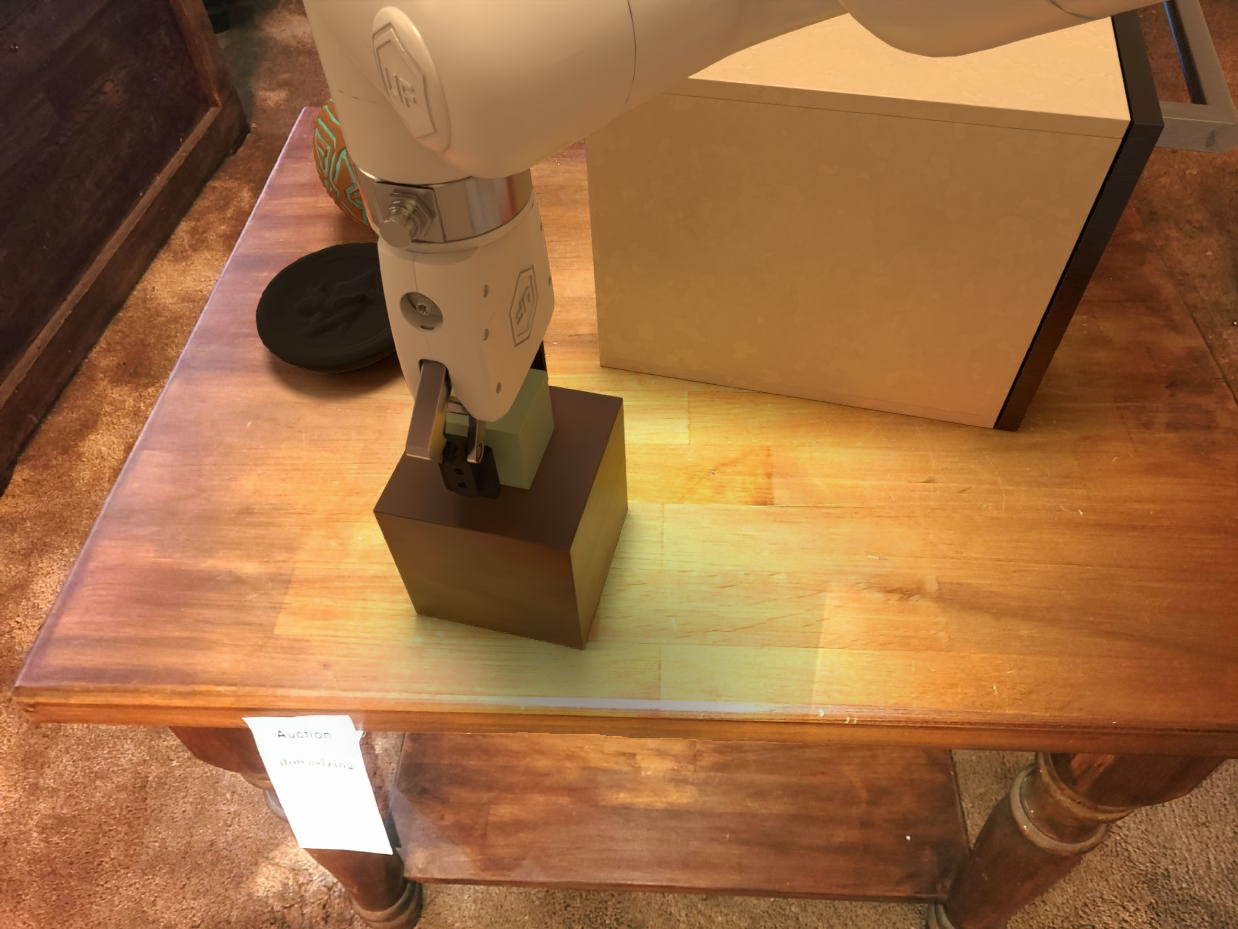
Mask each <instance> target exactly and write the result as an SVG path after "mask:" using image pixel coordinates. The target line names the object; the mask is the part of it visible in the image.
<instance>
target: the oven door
mask: <svg viewBox="0 0 1238 929" xmlns="http://www.w3.org/2000/svg"><path fill="white" fill-rule="evenodd" d="M1162 3H1163V6H1164V10H1165V13H1166V17H1167V21H1168V25H1169V28H1170V31H1171V35H1172V39H1173V42H1174V45H1175V46H1174V47H1175V50H1176V53H1177V56H1178V60H1179V63H1180V67H1181V71H1182V75H1183V78H1184V81H1185V85H1186V88H1187V92H1188V96H1189V99H1190V102H1191V103H1189V102H1187V103H1186V102H1177V101H1166V100H1159V95H1158V92H1157V87H1156V83H1155V78H1154V75H1153V70H1152V66H1151V61H1150V57H1149V54H1148V49H1147V44H1146V41H1145V40H1146V39H1145V37H1144V32H1143V28H1142V23H1141V20H1140V16H1139V12H1138V8H1137V9H1133V10H1129V11H1125V12H1121V13H1118V14H1115V15H1112V16H1111V21H1112V27H1113V32H1114V37H1115V42H1116V47H1117V52H1118V57H1119V63H1120V68H1121V73H1122V78H1123V83H1124V88H1125V94H1126V99H1127V104H1128V109H1129V114H1130V119H1131V121H1130V123H1129V125H1128V127H1127V129H1126V132H1125V134H1124V136H1123V138H1122V141H1121V143H1120V146H1119V148H1118V150H1117V152H1116V154H1115V157H1114V159H1113V161H1112V163H1111V166H1110V168H1109V170H1108V172H1107V174H1106V177H1105V179H1104V181H1103V183H1102V186H1101V188H1100V190H1099V192H1098V194H1097V197H1096V199H1095V201H1094V203H1093V206H1092V208H1091V210H1090V212H1089V214H1088V217H1087V219H1086V221H1085V223H1084V226H1083V228H1082V230H1081V232H1080V234H1079V237H1078V239H1077V241H1076V243H1075V246H1074V248H1073V250H1072V252H1071V255H1070V257H1069V259H1068V261H1067V263H1066V266H1065V268H1064V270H1063V272H1062V275H1061V277H1060V279H1059V281H1058V283H1057V286H1056V288H1055V290H1054V292H1053V295H1052V297H1051V299H1050V301H1049V303H1048V306H1047V308H1046V310H1045V312H1044V315H1043V317H1042V319H1041V321H1040V323H1039V326H1038V328H1037V330H1036V332H1035V335H1034V337H1033V339H1032V341H1031V343H1030V346H1029V348H1028V350H1027V352H1026V355H1025V357H1024V359H1023V361H1022V363H1021V366H1020V368H1019V370H1018V372H1017V375H1016V377H1015V379H1014V381H1013V384H1012V386H1011V388H1010V390H1009V392H1008V395H1007V397H1006V399H1005V401H1004V404H1003V406H1002V408H1001V410H1000V412H999V415H998V417H997V419H996V421H995V423H996V424H995V425H996V429H1000V430H1007V431H1014V432H1018V431H1019V429H1020V427H1021V425H1022V424H1023V421H1024V419H1025V417H1026V415H1027V412H1028V410H1029V408H1030V407H1031V404H1032V403H1033V400H1034V398H1035V396H1036V394H1037V392H1038V390H1039V388H1040V387H1041V386H1040V385H1041V383H1042V382H1043V379H1044V377H1045V375H1046V373H1047V371H1048V369H1049V367H1050V365H1051V364H1052V363H1051V362H1052V360H1053V358H1054V356H1055V354H1056V352H1057V351H1058V348H1059V347H1060V345H1061V342H1062V340H1063V337H1064V336H1065V333H1066V332H1067V329H1068V327H1069V325H1070V323H1071V321H1072V319H1073V317H1074V316H1075V313H1076V311H1077V309H1078V307H1079V305H1080V303H1081V300H1082V299H1083V296H1084V294H1085V292H1086V290H1087V288H1088V286H1089V284H1090V282H1091V280H1092V278H1093V275H1094V274H1095V271H1096V269H1097V268H1098V266H1099V264H1100V261H1101V259H1102V257H1103V255H1104V253H1105V251H1106V249H1107V247H1108V244H1109V243H1110V240H1111V238H1112V237H1113V234H1114V232H1115V231H1116V228H1117V226H1118V224H1119V222H1120V220H1121V218H1122V216H1123V213H1124V211H1125V209H1126V208H1127V205H1128V203H1129V201H1130V199H1131V197H1132V195H1133V192H1134V191H1135V189H1136V187H1137V185H1138V182H1139V180H1140V178H1141V176H1142V174H1143V172H1144V170H1145V168H1146V166H1147V164H1148V162H1149V159H1150V158H1151V155H1152V153H1153V151H1154V149H1155V148H1158V149H1159V148H1160V149H1167V150H1179V151H1180V150H1181V151H1188V152H1200V153H1210V154H1223V153H1226V152H1228V151H1230V150H1232V149H1234V148H1235V147H1237V145H1238V113H1237V110H1236V107H1235V104H1234V101H1233V98H1232V95H1231V92H1230V89H1229V86H1228V84H1227V80H1226V76H1225V74H1224V71H1223V69H1222V66H1221V62H1220V59H1219V57H1218V53H1217V51H1216V48H1215V45H1214V42H1213V38H1212V36H1211V33H1210V30H1209V27H1208V24H1207V21H1206V18H1205V15H1204V12H1203V9H1202V7H1201V3H1200V0H1168V1H1164V2H1162Z"/></svg>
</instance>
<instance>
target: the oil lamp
mask: <svg viewBox="0 0 1238 929" xmlns="http://www.w3.org/2000/svg"><path fill="white" fill-rule="evenodd" d="M377 243H378V242H372V241H371V242H370V241H368V242H367V241H366V242H365V241H364V242H362V241H361V242H359V241H358V242H346V243H340V244H339V243H338V244H333V245H331V246H327V247H324V248H321V249H320V250H319V249H318V250H317V251H313V252H310V253H307V254H306V255H304V256H301V257H299V258H297V259H296V260H295V261H293V262H292V263H289V264H288V265H286V266H285V267H284V268H283V269H281V270H280V271H279V272H278V273H277V274H276V275H275V276H273V278H272V279H271V280H270V281H269V283H268V284H267V286H265V288H264V290H263V291H262V292H261V297H260V298H259V300H258V303H257V306H256V309H255V324H256V330H257V334H258V337H259V338H260V341H261V343H262V344H263V346H264V347H265V348H266V349H267V350H269V352H271V353H272V354H273V355H274V356H275V357H276V358H278V359H279V360H280V361H281V362H284V363H286V364H289V365H291V366H294V367H297V368H299V369H304V370H307V371H310V372H314V373H323V374H337V373H338V374H339V373H345V372H350V371H354V370H359V369H362V368H364V367H368V366H370V365H373V364H375V363H377V362H379V361H380V360H381V361H382V360H383V359H385V358H386V357H388V356H389V355H392V354H393V353H394V352H397V351H396V346H395V342H394V338H393V334H392V330H391V325H390V321H389V316H388V311H387V306H386V300H385V295H384V289H383V283H382V276H381V270H380V261H379V253H378V245H377Z"/></svg>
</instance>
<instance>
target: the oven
mask: <svg viewBox="0 0 1238 929" xmlns="http://www.w3.org/2000/svg"><path fill="white" fill-rule="evenodd" d="M1130 121H1131V119H1130V114H1129V109H1128V104H1127V99H1126V94H1125V88H1124V83H1123V78H1122V73H1121V68H1120V63H1119V57H1118V52H1117V47H1116V42H1115V37H1114V32H1113V27H1112V21H1111V16H1110V17H1107V18H1104V19H1100V20H1096V21H1092V22H1089V23H1085V24H1081V25H1077V26H1073V27H1070V28H1066V29H1062V30H1058V31H1054V32H1050V33H1047V34H1043V35H1039V36H1035V37H1031V38H1027V39H1024V40H1020V41H1017V42H1013V43H1010V44H1006V45H1003V46H999V47H996V48H992V49H988V50H984V51H979V52H975V53H970V54H966V55H961V56H957V57H927V56H921V55H916V54H912V53H908V52H904V51H902V50H899V49H896V48H894V47H892V46H890V45H888V44H887V43H885V42H883V41H882V40H880V39H879V38H877V37H876V36H875V35H873V34H872V33H871V32H870V31H868V30H867V29H866V28H865V27H863V26H862V25H861V24H860V23H858V22H857V21H856V20H855V19H854V18H853V17H852V16H851V15H850V14H849V13H847V14H844V15H840V16H837V17H834V18H831V19H828V20H825V21H822V22H819V23H816V24H813V25H810V26H807V27H804V28H801V29H798V30H795V31H792V32H790V33H787V34H784V35H781V36H778V37H775V38H772V39H770V40H767V41H764V42H761V43H759V44H756V45H754V46H751V47H749V48H746V49H744V50H741V51H739V52H737V53H734V54H732V55H730V56H728V57H726V58H724V59H722V60H720V61H718V62H716V63H714V64H712V65H710V66H709V67H707V68H705V69H703V70H701V71H699V72H697V73H695V74H693V75H692V76H690V77H688V78H686V79H684V80H682V81H681V82H679V83H677V84H675V85H673V86H672V87H670V88H668V89H666V90H664V91H663V92H661V93H659V94H657V95H656V96H654V97H652V98H650V99H648V100H647V101H645V102H643V103H641V104H639V105H638V106H636V107H634V108H632V109H630V110H629V111H627V112H625V113H623V114H621V115H619V116H618V117H616V118H615V119H613V120H612V121H611V122H610V123H609V124H607V125H606V126H604V127H602V128H601V129H599V130H597V131H595V132H594V133H592V134H590V135H588V136H586V137H585V138H584V148H585V164H586V165H585V166H586V179H587V192H588V205H589V209H588V210H589V220H590V236H591V237H590V238H591V250H592V262H593V263H592V266H593V267H592V268H593V279H594V294H595V308H596V310H595V311H596V322H597V334H598V336H597V337H598V351H599V353H598V354H599V364H600V367H603V368H604V367H605V368H612V369H616V370H623V371H629V372H630V371H631V372H637V373H642V374H648V375H649V374H650V375H653V376H654V375H655V376H661V377H666V378H667V377H668V378H674V379H680V380H686V381H693V382H699V383H705V384H713V385H717V386H723V387H730V388H734V389H741V390H742V389H743V390H749V391H755V392H761V393H768V394H773V395H780V396H785V397H786V396H787V397H791V398H792V397H793V398H798V399H803V400H804V399H805V400H809V401H810V400H812V401H818V402H823V403H831V404H835V405H841V406H847V407H848V406H849V407H855V408H861V409H866V410H874V411H880V412H887V413H892V414H899V415H904V416H911V417H917V418H924V419H929V420H935V421H941V422H948V423H955V424H959V425H966V426H967V425H968V426H972V427H979V428H984V429H985V428H986V429H993V428H994V426H995V425H996V424H995V423H996V419H997V417H998V415H999V412H1000V410H1001V408H1002V406H1003V404H1004V401H1005V399H1006V397H1007V395H1008V392H1009V390H1010V388H1011V386H1012V384H1013V381H1014V379H1015V377H1016V375H1017V372H1018V370H1019V368H1020V366H1021V363H1022V361H1023V359H1024V357H1025V355H1026V352H1027V350H1028V348H1029V346H1030V343H1031V341H1032V339H1033V337H1034V335H1035V332H1036V330H1037V328H1038V326H1039V323H1040V321H1041V319H1042V317H1043V315H1044V312H1045V310H1046V308H1047V306H1048V303H1049V301H1050V299H1051V297H1052V295H1053V292H1054V290H1055V288H1056V286H1057V283H1058V281H1059V279H1060V277H1061V275H1062V272H1063V270H1064V268H1065V266H1066V263H1067V261H1068V259H1069V257H1070V255H1071V252H1072V250H1073V248H1074V246H1075V243H1076V241H1077V239H1078V237H1079V234H1080V232H1081V230H1082V228H1083V226H1084V223H1085V221H1086V219H1087V217H1088V214H1089V212H1090V210H1091V208H1092V206H1093V203H1094V201H1095V199H1096V197H1097V194H1098V192H1099V190H1100V188H1101V186H1102V183H1103V181H1104V179H1105V177H1106V174H1107V172H1108V170H1109V168H1110V166H1111V163H1112V161H1113V159H1114V157H1115V154H1116V152H1117V150H1118V148H1119V146H1120V143H1121V141H1122V138H1123V136H1124V134H1125V132H1126V129H1127V127H1128V125H1129V123H1130Z"/></svg>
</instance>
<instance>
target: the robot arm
mask: <svg viewBox="0 0 1238 929" xmlns="http://www.w3.org/2000/svg"><path fill="white" fill-rule="evenodd" d="M301 1H302V5H303V7H304V11H305V14H306V17H307V21H308V24H309V27H310V28H309V29H310V31H311V35H312V37H313V41H314V44H315V48H316V50H317V54H318V57H319V62H320V63H321V67H322V71H323V74H324V78H325V80H326V84H327V88H328V90H329V93H330V94H331V97H332V101H333V104H334V107H335V111H336V114H337V117H338V121H339V124H340V127H341V131H342V134H343V137H344V140H345V144H346V147H347V150H348V153H349V157H350V160H351V164H352V167H353V170H354V174H355V177H356V180H357V184H358V187H359V190H360V194H361V197H362V200H363V204H364V207H365V210H366V214H367V217H368V220H369V223H370V225H371V227H372V229H373V230H372V231H374V232H375V233H376V235H377V236H378V240H377V242H376V243H377V245H378V253H379V261H380V270H381V276H382V283H383V289H384V295H385V300H386V306H387V311H388V316H389V321H390V325H391V330H392V334H393V338H394V342H395V346H396V351H395V352H396V355H397V359H398V361H399V364H400V368H401V371H402V375H403V378H404V382H405V383H406V385H407V388H408V391H409V393H410V395H411V397H412V399H413V401H414V403H413V408H412V413H411V417H410V422H409V426H408V431H407V435H406V441H405V448H404V451H405V452H406V455H407V456H410V457H413V458H417V459H421V460H425V461H429V462H435V463H438V465H439V468H440V471H441V475H442V478H443V481H444V484H445V487H446V488H447V489H448V490H450V491H453V492H455V493H457V494H459V495H462V496H466V497H476V496H479V497H484V498H489V499H498V497H499V495H500V493H501V485H500V481H499V476H498V472H497V467H496V463H495V459H494V454H493V450H492V448H491V447H490V446H487V445H485V430H486V421H489V422H496V421H497V420H499V419H500V418H502V417H503V416H504V415H505V414H506V413H507V412H508V411H509V409H510V408H511V406H512V404H513V402H514V401H515V398H516V396H517V394H518V392H519V390H520V388H521V386H522V384H523V382H524V379H525V377H526V375H527V373H528V371H529V369H537V370H543V371H546V372H547V378H548V379H549V374H548V366H547V360H546V351H545V344H544V337H545V335H546V333H547V330H548V328H549V326H550V323H551V320H552V317H553V313H554V309H555V292H554V285H553V277H552V271H551V266H550V260H549V255H548V249H547V248H548V247H547V243H546V237H545V232H544V228H543V227H544V226H543V222H542V217H541V212H540V208H539V205H538V201H537V196H536V193H535V190H534V186H533V180H532V172H531V168H534V167H536V166H537V165H540V164H541V163H543V162H545V161H546V160H548V159H549V158H551V157H553V156H555V155H557V154H558V153H560V152H562V151H564V150H566V149H568V148H569V147H571V146H573V145H574V144H576V143H578V142H579V141H581V140H584V139H585V137H586V136H588V135H590V134H592V133H594V132H595V131H597V130H599V129H601V128H602V127H604V126H606V125H607V124H609V123H610V122H611V121H612V120H613V119H615V118H616V117H618V116H619V115H621V114H623V113H625V112H627V111H629V110H630V109H632V108H634V107H636V106H638V105H639V104H641V103H643V102H645V101H647V100H648V99H650V98H652V97H654V96H656V95H657V94H659V93H661V92H663V91H664V90H666V89H668V88H670V87H672V86H673V85H675V84H677V83H679V82H681V81H682V80H684V79H686V78H688V77H690V76H692V75H693V74H695V73H697V72H699V71H701V70H703V69H705V68H707V67H709V66H710V65H712V64H714V63H716V62H718V61H720V60H722V59H724V58H726V57H728V56H730V55H732V54H734V53H737V52H739V51H741V50H744V49H746V48H749V47H751V46H754V45H756V44H759V43H761V42H764V41H767V40H770V39H772V38H775V37H778V36H781V35H784V34H787V33H790V32H792V31H795V30H798V29H801V28H804V27H807V26H810V25H813V24H816V23H819V22H822V21H825V20H828V19H831V18H834V17H837V16H840V15H844V14H847V13H849V14H850V15H851V16H852V17H853V18H854V19H855V20H856V21H857V22H858V23H860V24H861V25H862V26H863V27H865V28H866V29H867V30H868V31H870V32H871V33H872V34H873V35H875V36H876V37H877V38H879V39H880V40H882V41H883V42H885V43H887V44H888V45H890V46H892V47H894V48H896V49H899V50H902V51H904V52H908V53H912V54H916V55H921V56H927V57H957V56H961V55H966V54H970V53H975V52H979V51H984V50H988V49H992V48H996V47H999V46H1003V45H1006V44H1010V43H1013V42H1017V41H1020V40H1024V39H1027V38H1031V37H1035V36H1039V35H1043V34H1047V33H1050V32H1054V31H1058V30H1062V29H1066V28H1070V27H1073V26H1077V25H1081V24H1085V23H1089V22H1092V21H1096V20H1100V19H1104V18H1107V17H1110V16H1112V15H1115V14H1118V13H1121V12H1125V11H1129V10H1133V9H1137V10H1138V9H1141V8H1145V7H1148V6H1152V5H1156V4H1160V3H1163V2H1164V1H1168V0H301ZM330 94H329V95H330ZM452 388H453V392H454V394H455V395H456V396H457V397H456V396H450V395H451V390H452ZM447 412H449V413H455V414H461V415H466V416H469V418H468V435H467V437H465V436H460V435H454V434H449V433H446V416H447Z"/></svg>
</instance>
